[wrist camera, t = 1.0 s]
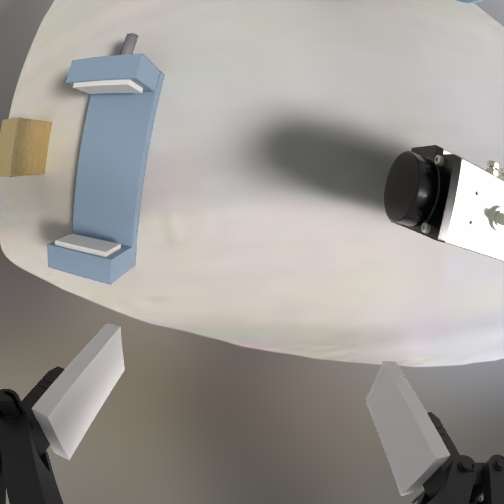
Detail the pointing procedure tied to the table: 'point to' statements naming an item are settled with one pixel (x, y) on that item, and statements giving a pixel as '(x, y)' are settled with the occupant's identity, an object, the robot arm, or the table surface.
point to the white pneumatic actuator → (448, 199)
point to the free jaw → (115, 72)
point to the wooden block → (23, 147)
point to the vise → (108, 187)
